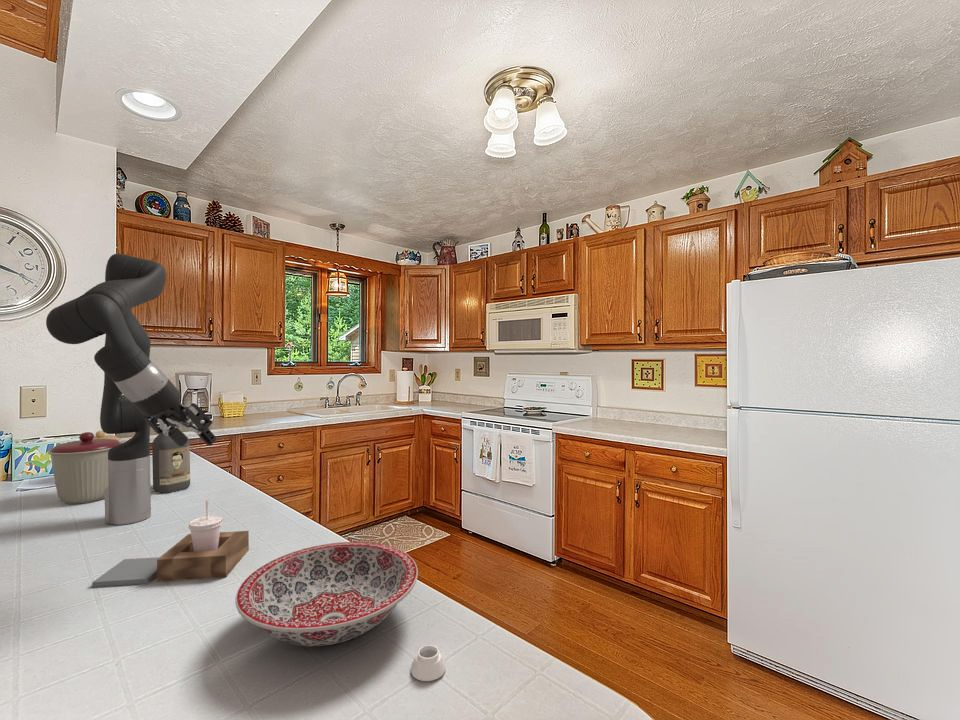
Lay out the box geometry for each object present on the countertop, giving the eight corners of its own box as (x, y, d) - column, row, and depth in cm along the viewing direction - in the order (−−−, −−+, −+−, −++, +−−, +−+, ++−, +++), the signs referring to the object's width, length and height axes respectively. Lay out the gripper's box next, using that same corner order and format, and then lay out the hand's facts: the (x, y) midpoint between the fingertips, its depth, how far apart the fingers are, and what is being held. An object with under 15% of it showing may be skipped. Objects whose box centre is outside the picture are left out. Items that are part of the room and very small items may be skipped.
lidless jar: (409, 685, 64) (445, 682, 64) (409, 664, 64) (445, 662, 64) (412, 660, 69) (445, 658, 69) (412, 641, 69) (445, 639, 69)
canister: (134, 496, 147) (133, 430, 146) (60, 513, 132) (58, 440, 131) (111, 487, 157) (109, 425, 156) (39, 501, 141) (38, 433, 141)
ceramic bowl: (191, 657, 70) (190, 605, 70) (319, 570, 97) (319, 533, 97) (352, 708, 60) (352, 648, 59) (445, 595, 87) (445, 554, 87)
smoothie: (229, 558, 103) (228, 496, 102) (210, 572, 96) (209, 506, 96) (202, 557, 103) (202, 495, 103) (181, 571, 97) (180, 505, 97)
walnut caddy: (157, 581, 92) (156, 559, 92) (188, 553, 105) (188, 534, 105) (226, 577, 94) (225, 555, 94) (248, 549, 107) (248, 530, 107)
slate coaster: (92, 587, 90) (92, 582, 90) (124, 563, 100) (124, 559, 100) (147, 583, 92) (147, 578, 92) (173, 560, 102) (173, 556, 102)
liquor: (150, 490, 153) (149, 400, 152) (180, 483, 160) (179, 398, 160) (162, 495, 148) (160, 402, 147) (192, 488, 155) (191, 399, 155)
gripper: (186, 373, 92) (233, 429, 101) (137, 378, 96) (186, 431, 105) (159, 398, 86) (211, 455, 95) (108, 402, 91) (162, 456, 100)
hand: (198, 443), depth 100 cm, fingers open, 8 cm apart
